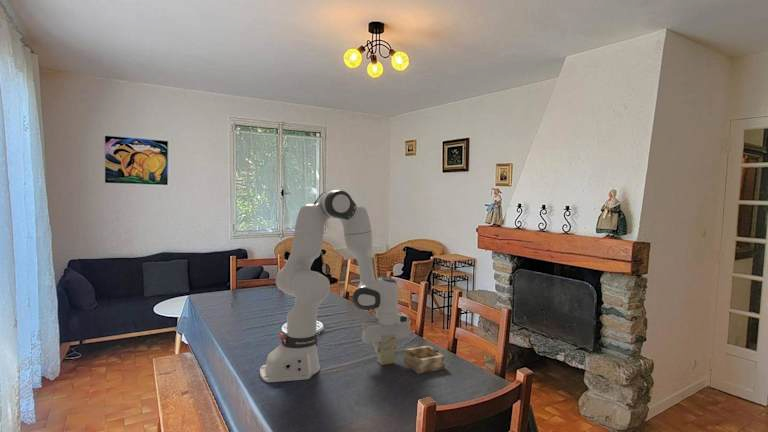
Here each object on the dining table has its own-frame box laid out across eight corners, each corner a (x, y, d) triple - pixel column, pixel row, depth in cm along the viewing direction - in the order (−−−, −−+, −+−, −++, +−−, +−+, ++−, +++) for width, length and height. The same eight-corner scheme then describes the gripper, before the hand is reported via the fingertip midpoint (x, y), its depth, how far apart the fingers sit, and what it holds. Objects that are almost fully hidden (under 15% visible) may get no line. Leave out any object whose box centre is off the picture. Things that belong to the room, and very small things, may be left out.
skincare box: (381, 365, 163) (381, 335, 162) (376, 361, 167) (377, 331, 166) (395, 362, 166) (396, 333, 165) (390, 358, 170) (391, 329, 169)
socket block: (417, 373, 157) (418, 359, 156) (403, 361, 167) (403, 348, 167) (444, 368, 161) (445, 354, 161) (429, 356, 172) (429, 344, 172)
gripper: (365, 322, 158) (365, 357, 159) (412, 316, 166) (411, 350, 167) (359, 317, 164) (359, 351, 165) (405, 312, 172) (404, 344, 173)
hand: (386, 350), depth 166 cm, fingers closed on skincare box, 6 cm apart
